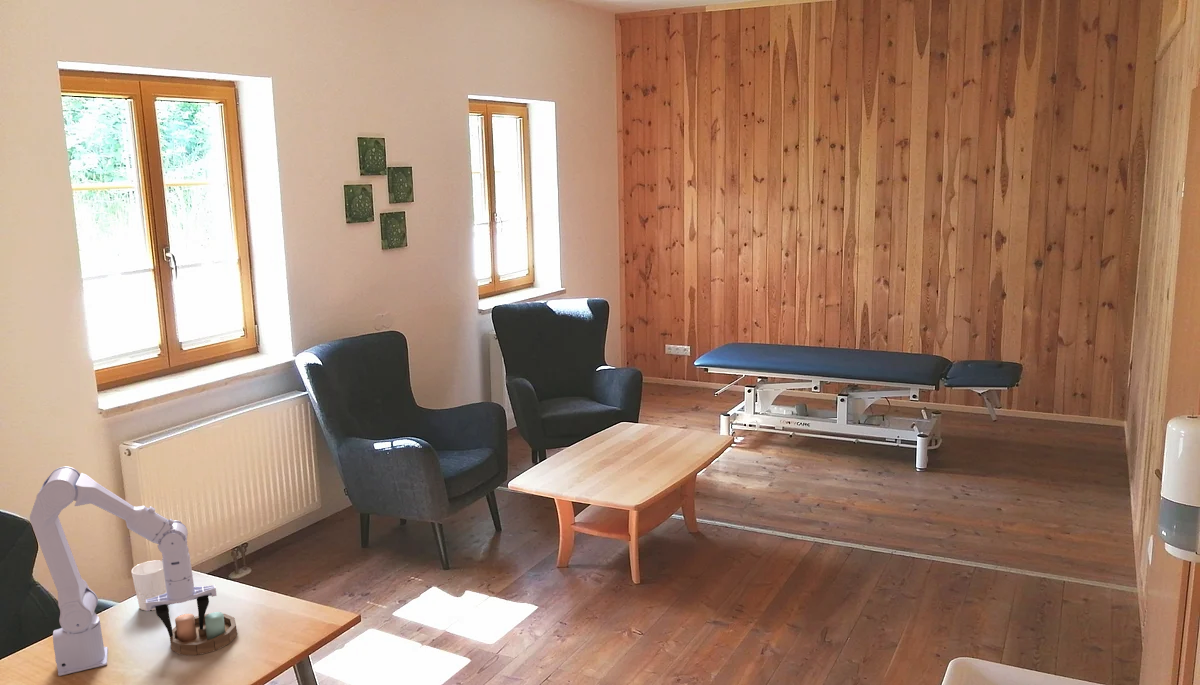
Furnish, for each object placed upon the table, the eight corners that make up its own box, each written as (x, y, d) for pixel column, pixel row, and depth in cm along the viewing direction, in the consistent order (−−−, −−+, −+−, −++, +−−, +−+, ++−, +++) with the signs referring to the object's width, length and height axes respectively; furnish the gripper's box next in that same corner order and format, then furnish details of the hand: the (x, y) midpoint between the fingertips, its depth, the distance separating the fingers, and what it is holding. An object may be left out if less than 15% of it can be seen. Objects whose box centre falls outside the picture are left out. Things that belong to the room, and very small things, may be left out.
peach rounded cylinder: (179, 644, 217) (176, 624, 216) (176, 636, 220) (173, 616, 219) (198, 639, 219) (195, 619, 218) (195, 631, 222) (192, 611, 221)
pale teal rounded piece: (208, 642, 217) (205, 622, 216) (205, 634, 221) (203, 614, 219) (226, 637, 219) (224, 617, 218) (224, 630, 222) (222, 610, 221)
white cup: (158, 613, 233) (152, 575, 231) (129, 611, 235) (124, 573, 233) (178, 597, 241) (173, 561, 239) (150, 595, 243) (145, 559, 240)
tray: (172, 661, 212) (170, 650, 211) (170, 632, 224) (168, 622, 224) (239, 644, 218) (238, 634, 217) (233, 617, 230) (232, 608, 230)
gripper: (211, 561, 222) (218, 615, 225) (142, 575, 216) (151, 630, 219) (214, 573, 216) (221, 628, 219) (143, 588, 210) (151, 645, 213)
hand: (186, 630), depth 219 cm, fingers open, 6 cm apart
